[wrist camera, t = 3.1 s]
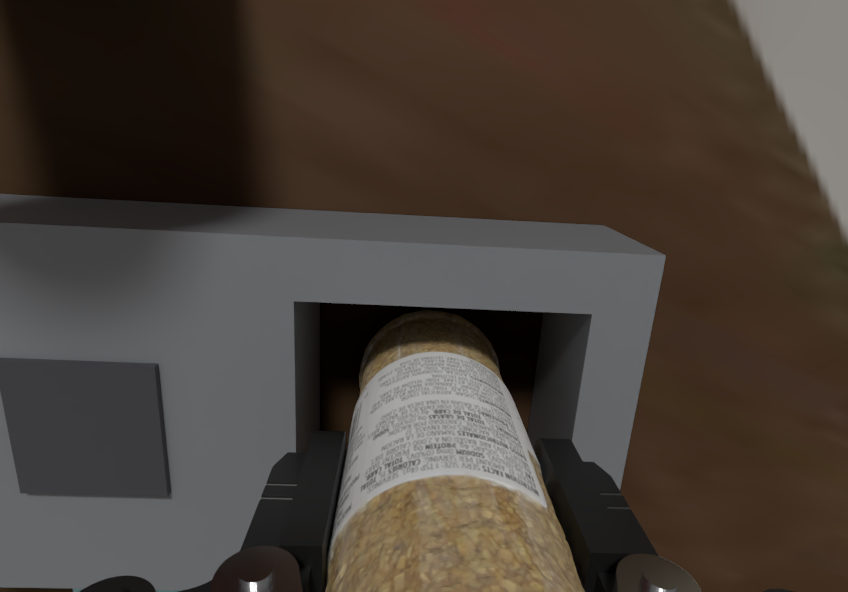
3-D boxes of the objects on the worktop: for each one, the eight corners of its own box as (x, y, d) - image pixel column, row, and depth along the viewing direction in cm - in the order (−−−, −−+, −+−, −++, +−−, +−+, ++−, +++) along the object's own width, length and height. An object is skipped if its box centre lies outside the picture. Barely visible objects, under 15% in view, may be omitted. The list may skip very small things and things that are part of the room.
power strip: (-23, 488, 18) (-164, 607, 14) (-91, 189, 15) (-299, 215, 11) (559, 503, 19) (607, 618, 15) (604, 225, 16) (681, 262, 12)
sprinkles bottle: (472, 445, 18) (633, 1194, 5) (342, 412, 18) (181, 1160, 5) (518, 325, 17) (870, 931, 4) (380, 285, 16) (298, 844, 4)
